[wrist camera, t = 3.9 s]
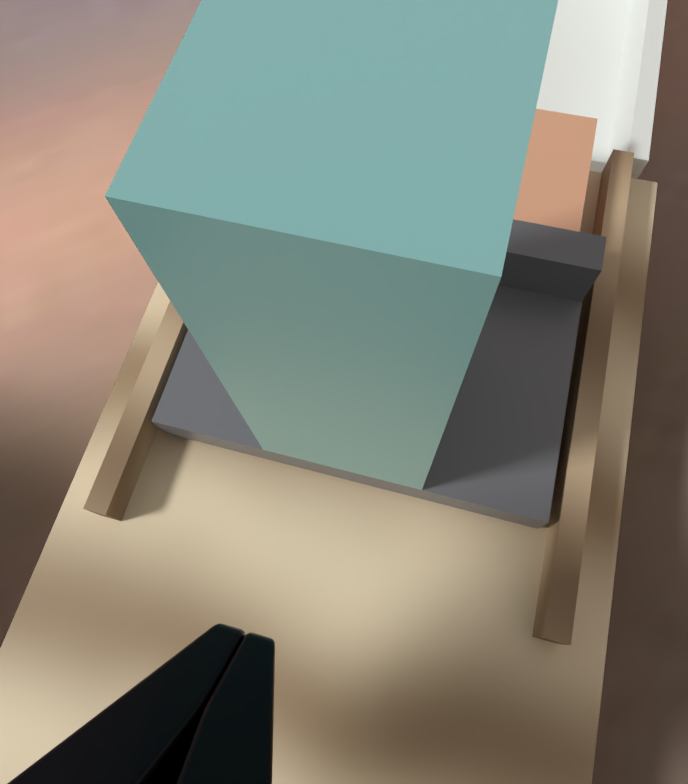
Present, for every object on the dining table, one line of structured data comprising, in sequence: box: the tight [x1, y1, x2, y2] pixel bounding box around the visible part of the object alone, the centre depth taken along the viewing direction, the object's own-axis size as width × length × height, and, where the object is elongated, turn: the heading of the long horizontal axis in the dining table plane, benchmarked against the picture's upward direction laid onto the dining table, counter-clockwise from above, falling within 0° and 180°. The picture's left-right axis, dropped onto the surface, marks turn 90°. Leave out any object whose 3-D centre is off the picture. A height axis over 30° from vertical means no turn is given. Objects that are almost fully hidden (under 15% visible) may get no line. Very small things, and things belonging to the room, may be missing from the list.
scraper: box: [105, 0, 606, 529], centre depth 12 cm, size 7×10×10 cm
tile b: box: [513, 109, 598, 232], centre depth 18 cm, size 4×4×2 cm
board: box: [0, 149, 658, 784], centre depth 17 cm, size 21×14×4 cm, turn 165°
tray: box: [536, 0, 668, 179], centre depth 22 cm, size 12×13×4 cm
